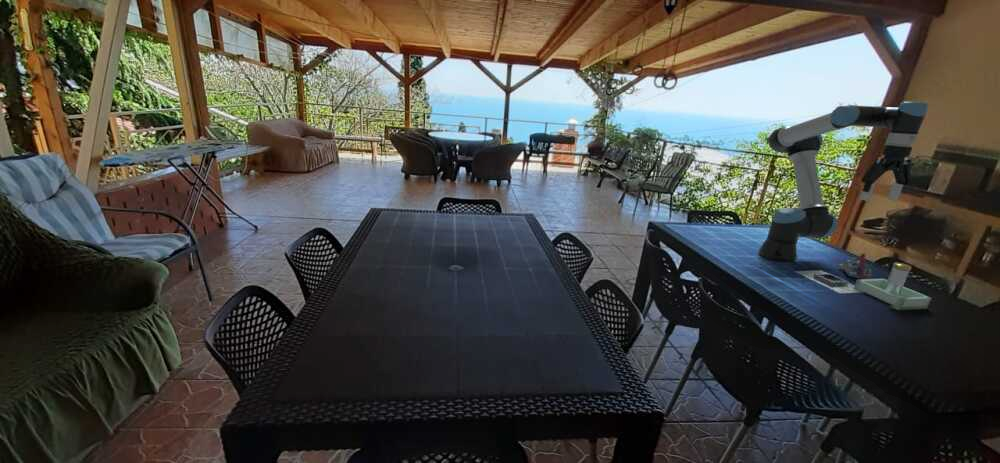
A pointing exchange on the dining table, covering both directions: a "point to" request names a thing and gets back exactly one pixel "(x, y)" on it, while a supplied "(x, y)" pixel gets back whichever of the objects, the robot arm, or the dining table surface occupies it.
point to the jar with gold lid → (897, 278)
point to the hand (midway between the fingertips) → (878, 200)
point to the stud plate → (830, 281)
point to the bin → (902, 302)
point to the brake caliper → (856, 267)
